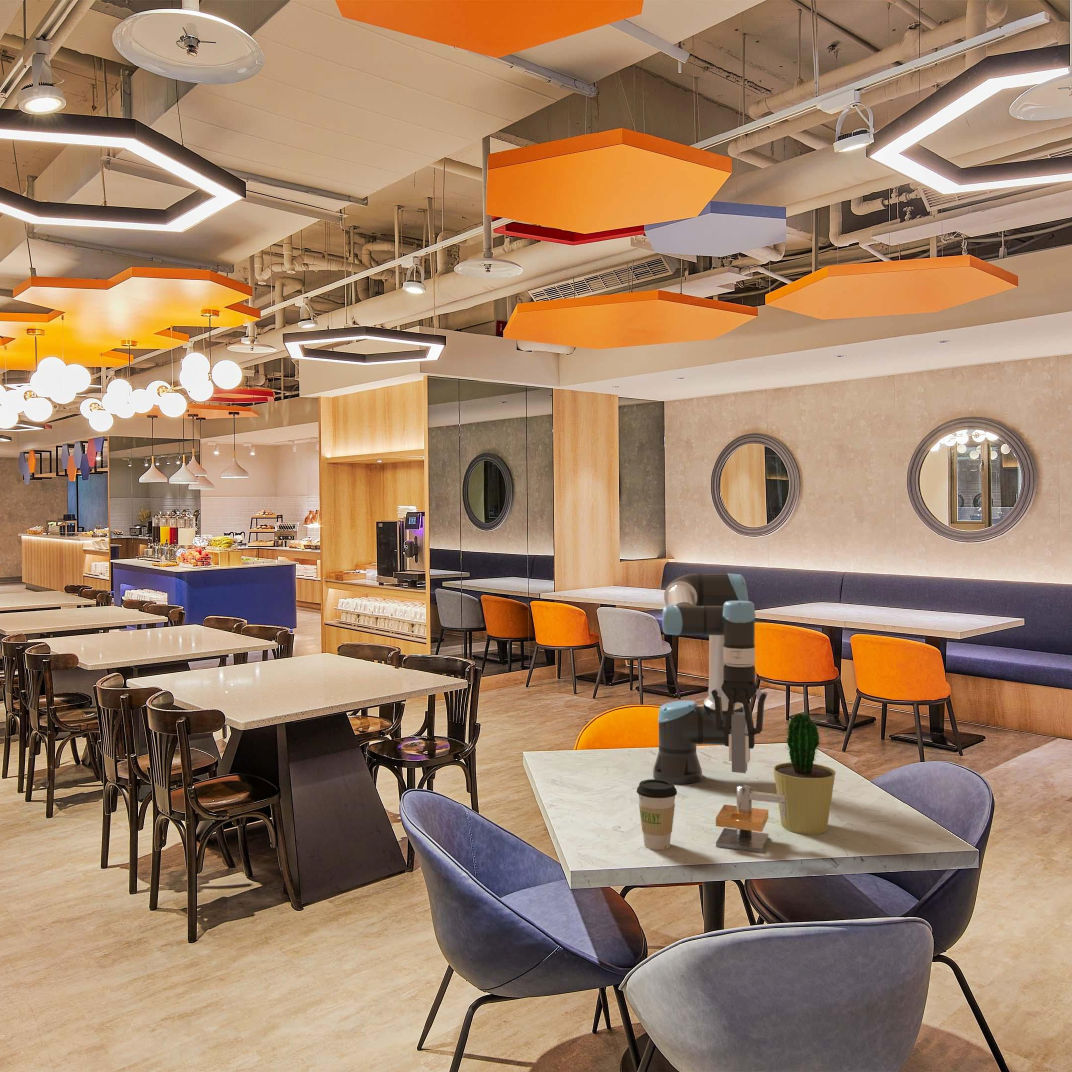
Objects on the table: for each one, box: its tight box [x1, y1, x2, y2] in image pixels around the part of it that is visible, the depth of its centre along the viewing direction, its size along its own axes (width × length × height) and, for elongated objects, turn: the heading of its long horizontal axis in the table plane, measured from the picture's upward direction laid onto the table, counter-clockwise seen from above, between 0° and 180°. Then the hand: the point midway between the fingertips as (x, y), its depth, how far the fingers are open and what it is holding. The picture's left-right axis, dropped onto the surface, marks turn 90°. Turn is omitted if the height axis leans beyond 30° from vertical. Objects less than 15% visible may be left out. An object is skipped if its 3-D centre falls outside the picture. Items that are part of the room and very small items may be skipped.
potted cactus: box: [773, 712, 836, 835], centre depth 224 cm, size 15×15×30 cm
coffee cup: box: [636, 778, 678, 851], centre depth 211 cm, size 10×10×15 cm
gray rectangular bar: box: [731, 712, 748, 774], centre depth 211 cm, size 3×3×14 cm
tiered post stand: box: [715, 784, 786, 854], centre depth 212 cm, size 16×11×13 cm
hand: (739, 760), depth 211 cm, fingers closed on gray rectangular bar, 3 cm apart
